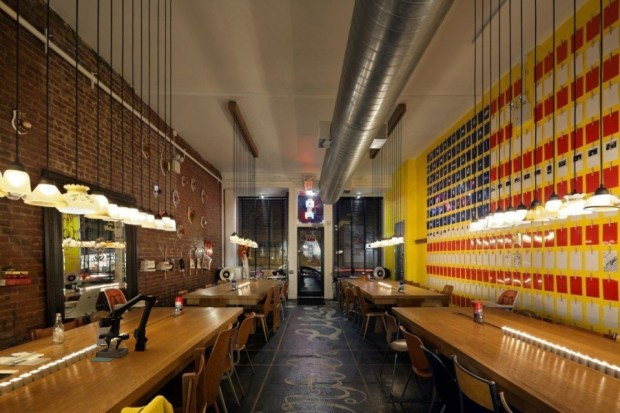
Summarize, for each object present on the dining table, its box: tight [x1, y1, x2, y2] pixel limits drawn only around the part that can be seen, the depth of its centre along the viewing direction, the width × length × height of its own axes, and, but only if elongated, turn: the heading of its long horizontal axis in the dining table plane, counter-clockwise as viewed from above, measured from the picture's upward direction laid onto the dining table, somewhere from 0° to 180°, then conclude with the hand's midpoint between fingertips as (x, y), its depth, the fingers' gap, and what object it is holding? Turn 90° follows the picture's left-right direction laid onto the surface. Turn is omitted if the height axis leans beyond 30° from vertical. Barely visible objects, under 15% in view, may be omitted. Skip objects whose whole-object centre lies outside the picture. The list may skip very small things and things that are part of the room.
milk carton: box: [95, 324, 111, 345], centre depth 293 cm, size 7×7×19 cm
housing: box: [95, 346, 130, 359], centre depth 268 cm, size 16×14×3 cm
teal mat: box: [89, 356, 114, 363], centre depth 255 cm, size 12×7×1 cm, turn 93°
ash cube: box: [109, 342, 117, 351], centre depth 268 cm, size 4×4×4 cm
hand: (112, 349), depth 268 cm, fingers open, 5 cm apart
